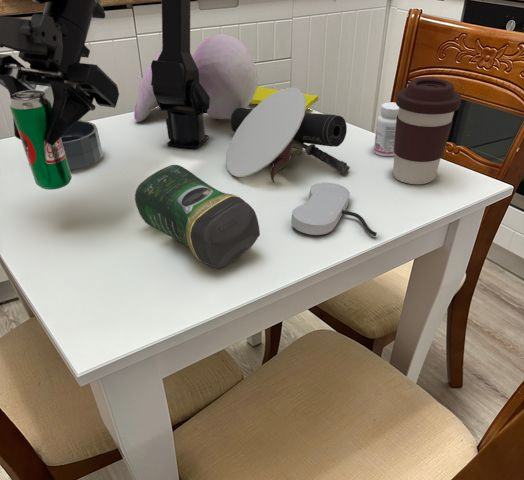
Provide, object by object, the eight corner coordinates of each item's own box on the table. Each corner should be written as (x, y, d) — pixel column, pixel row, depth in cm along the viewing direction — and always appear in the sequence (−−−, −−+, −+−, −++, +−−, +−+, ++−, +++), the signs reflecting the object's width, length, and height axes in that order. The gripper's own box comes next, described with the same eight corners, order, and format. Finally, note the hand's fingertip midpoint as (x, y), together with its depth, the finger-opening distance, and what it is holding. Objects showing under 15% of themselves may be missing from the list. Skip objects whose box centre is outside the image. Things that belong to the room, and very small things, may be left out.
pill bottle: (370, 147, 100) (376, 101, 94) (394, 146, 100) (401, 100, 94) (376, 157, 96) (383, 110, 90) (401, 156, 96) (409, 109, 91)
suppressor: (322, 129, 84) (333, 153, 88) (340, 108, 85) (350, 133, 89) (226, 119, 103) (238, 139, 106) (241, 102, 103) (252, 123, 107)
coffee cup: (409, 193, 85) (427, 96, 75) (373, 172, 91) (385, 80, 81) (455, 181, 88) (478, 86, 78) (416, 161, 94) (434, 71, 84)
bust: (168, 168, 122) (253, 135, 100) (108, 105, 111) (189, 52, 89) (206, 111, 129) (293, 68, 107) (153, 46, 118) (238, -17, 96)
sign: (303, 115, 113) (320, 101, 120) (303, 107, 112) (320, 93, 118) (192, 99, 123) (213, 86, 129) (192, 91, 122) (213, 80, 128)
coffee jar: (145, 232, 78) (216, 283, 68) (125, 187, 72) (198, 235, 62) (195, 200, 81) (270, 244, 70) (179, 154, 75) (258, 195, 64)
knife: (260, 116, 92) (272, 119, 97) (256, 127, 93) (268, 130, 98) (345, 163, 87) (354, 165, 92) (339, 174, 88) (348, 175, 93)
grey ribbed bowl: (115, 152, 100) (108, 122, 96) (81, 177, 91) (73, 146, 88) (62, 146, 103) (54, 117, 99) (24, 170, 94) (14, 140, 90)
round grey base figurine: (309, 69, 87) (343, 113, 94) (233, 120, 98) (268, 156, 105) (300, 146, 79) (338, 188, 87) (219, 191, 91) (258, 225, 98)
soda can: (62, 192, 72) (34, 102, 64) (30, 189, 73) (-2, 100, 65) (79, 177, 75) (55, 89, 67) (48, 174, 76) (20, 88, 68)
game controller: (286, 218, 74) (285, 229, 75) (372, 240, 71) (369, 251, 72) (316, 178, 84) (314, 189, 86) (392, 196, 82) (389, 206, 83)
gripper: (-39, -20, 64) (-71, 101, 64) (81, -14, 58) (45, 119, 58) (27, 38, 74) (-1, 142, 75) (134, 48, 68) (103, 161, 69)
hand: (33, 141), depth 69 cm, fingers closed on soda can, 5 cm apart
